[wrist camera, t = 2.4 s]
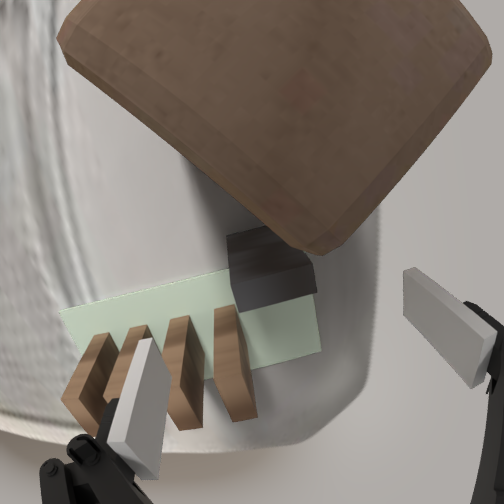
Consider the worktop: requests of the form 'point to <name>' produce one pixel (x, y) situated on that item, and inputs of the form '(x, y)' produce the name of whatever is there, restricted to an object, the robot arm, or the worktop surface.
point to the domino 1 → (125, 361)
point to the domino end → (91, 383)
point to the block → (287, 94)
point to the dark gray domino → (267, 269)
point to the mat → (201, 319)
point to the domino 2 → (184, 373)
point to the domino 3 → (232, 365)
